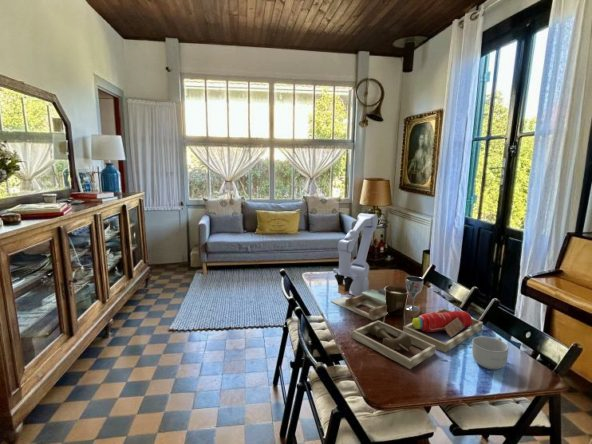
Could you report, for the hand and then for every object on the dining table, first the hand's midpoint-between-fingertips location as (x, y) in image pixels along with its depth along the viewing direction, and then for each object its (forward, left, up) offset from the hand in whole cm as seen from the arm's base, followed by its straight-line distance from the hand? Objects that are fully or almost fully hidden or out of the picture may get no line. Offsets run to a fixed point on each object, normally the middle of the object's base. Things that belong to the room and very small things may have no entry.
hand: (343, 289), depth 166 cm
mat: (0, 0, -7) cm, 7 cm away
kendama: (+16, +40, -7) cm, 43 cm away
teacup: (-3, +68, -7) cm, 69 cm away
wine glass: (-22, +25, -7) cm, 34 cm away
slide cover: (-11, +13, -2) cm, 18 cm away
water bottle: (-11, +46, -7) cm, 48 cm away
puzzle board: (-6, +13, -7) cm, 16 cm away
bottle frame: (-12, +46, -7) cm, 48 cm away
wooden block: (0, 0, -2) cm, 2 cm away
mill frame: (+15, +40, -7) cm, 44 cm away
